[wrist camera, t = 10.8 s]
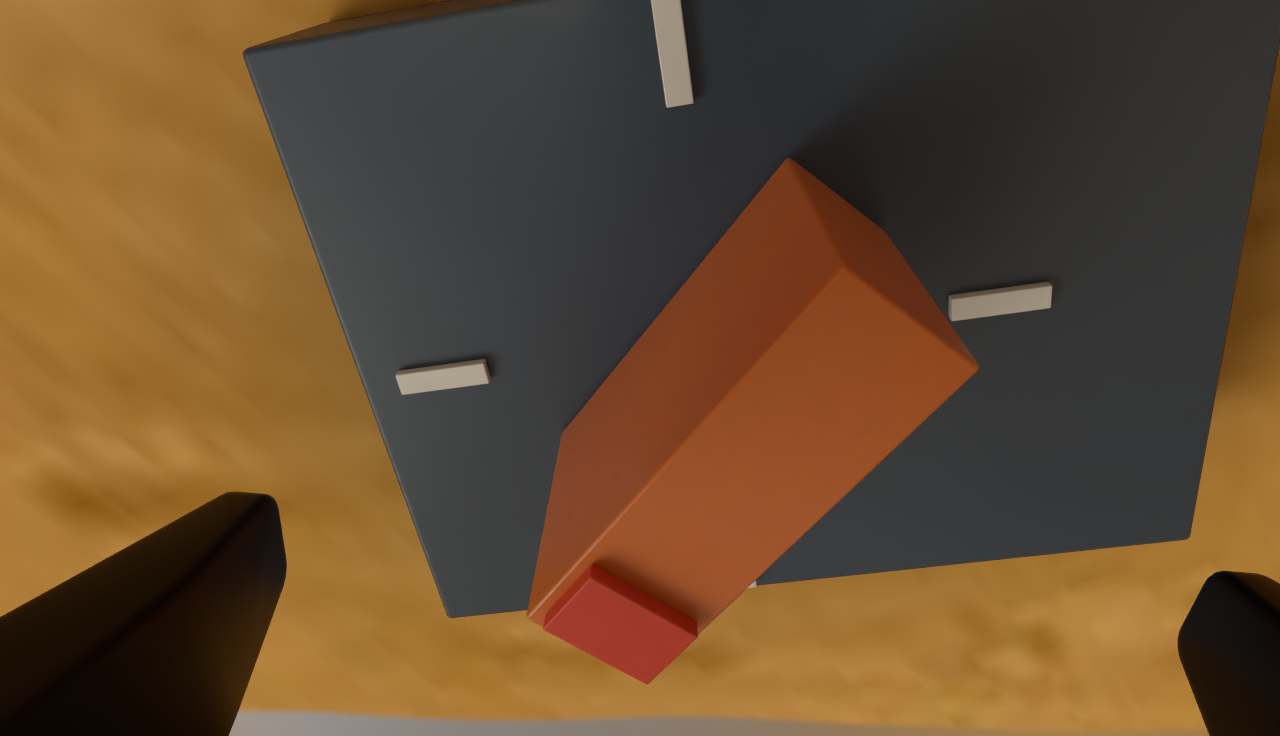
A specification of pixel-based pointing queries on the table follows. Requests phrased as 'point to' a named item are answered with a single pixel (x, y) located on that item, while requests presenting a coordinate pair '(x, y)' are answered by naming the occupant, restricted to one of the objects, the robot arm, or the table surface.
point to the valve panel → (721, 190)
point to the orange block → (737, 424)
